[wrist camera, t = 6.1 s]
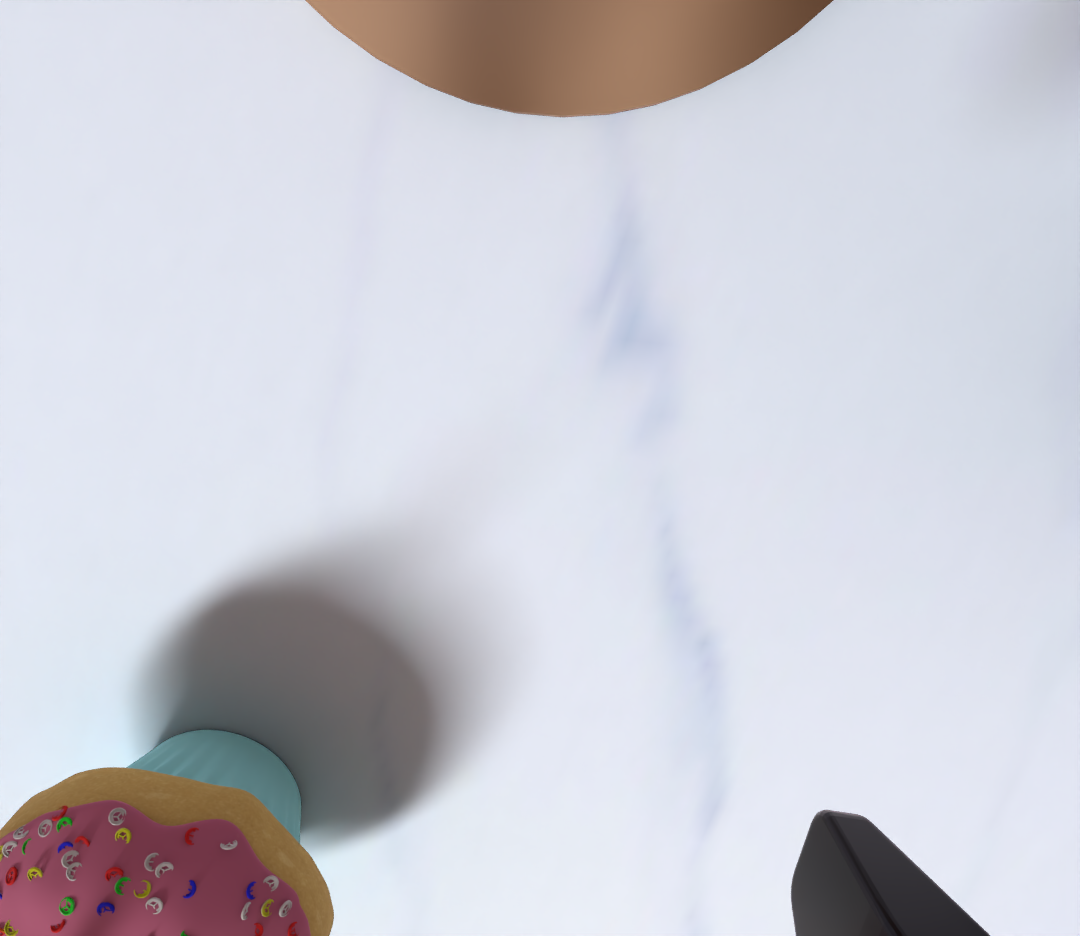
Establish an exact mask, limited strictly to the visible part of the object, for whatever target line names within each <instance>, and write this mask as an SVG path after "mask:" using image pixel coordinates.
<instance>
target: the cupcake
mask: <svg viewBox="0 0 1080 936" xmlns="http://www.w3.org/2000/svg"><path fill="white" fill-rule="evenodd" d="M300 823H301V797H300V793H299V789H298V786H297V783H296V781H295V779H294V777H293V775H292V774H291V772H290V771H289V769H288V768H287V767H286V765H285V764H284V763H283V762H282V761H281V760H280V759H279V758H278V757H277V756H276V755H275V754H274V753H273V752H271V751H270V750H269V749H267V748H266V747H264V746H263V745H261V744H259V743H257V742H256V741H254V740H251V739H249V738H247V737H244V736H241V735H239V734H235V733H231V732H226V731H220V730H196V731H190V732H186V733H182V734H179V735H176V736H174V737H172V738H169V739H168V740H166V741H164V742H162V743H161V744H159V745H158V746H157V747H156V748H154V749H153V750H151V751H150V752H149V753H147V754H146V755H144V756H143V757H141V758H140V759H139V760H137V761H136V762H134V763H133V764H131V765H130V766H128V767H126V768H99V769H93V770H88V771H84V772H80V773H77V774H75V775H73V776H71V777H69V778H67V779H65V780H63V781H62V782H60V783H58V784H56V785H55V786H53V787H51V788H49V789H47V790H44V791H42V792H40V793H38V794H36V795H35V796H33V797H32V798H30V799H29V800H28V801H27V802H26V803H25V804H24V805H23V806H22V807H21V808H20V809H19V810H18V811H17V812H16V813H15V814H14V815H13V816H12V818H11V819H10V820H9V821H8V822H7V823H6V824H5V826H4V827H3V828H2V829H1V830H0V936H329V935H330V932H331V928H332V925H333V919H334V912H333V906H332V902H331V898H330V893H329V890H328V887H327V884H326V882H325V880H324V878H323V877H322V875H321V873H320V871H319V869H318V868H317V866H316V864H315V863H314V861H313V859H312V857H311V856H310V855H309V853H308V852H307V851H306V850H305V849H304V848H303V847H302V846H301V845H300Z"/></svg>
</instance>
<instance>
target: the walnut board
mask: <svg viewBox="0 0 1080 936" xmlns="http://www.w3.org/2000/svg"><path fill="white" fill-rule="evenodd" d="M306 1H307V2H308V3H309V4H310V5H311V6H312V7H313V8H314V9H315V10H316V11H317V12H318V13H319V14H320V15H321V16H323V17H324V18H325V19H326V20H327V21H328V22H329V23H330V24H331V25H332V26H333V27H334V28H336V29H337V30H338V31H340V32H341V33H342V34H344V35H345V36H346V37H348V38H349V39H351V40H352V41H353V42H355V43H356V44H357V45H359V46H360V47H362V48H363V49H364V50H366V51H367V52H368V53H370V54H371V55H372V56H374V57H375V58H377V59H378V60H380V61H382V62H384V63H386V64H388V65H389V66H391V67H393V68H395V69H397V70H398V71H400V72H402V73H404V74H406V75H408V76H409V77H411V78H413V79H415V80H417V81H419V82H420V83H422V84H424V85H426V86H428V87H431V88H434V89H436V90H439V91H441V92H444V93H447V94H449V95H452V96H454V97H457V98H460V99H462V100H465V101H467V102H470V103H474V104H478V105H482V106H487V107H491V108H495V109H500V110H504V111H508V112H513V113H518V114H530V115H542V116H554V117H574V116H592V115H609V114H613V113H618V112H623V111H628V110H633V109H638V108H643V107H648V106H653V105H657V104H659V103H662V102H665V101H668V100H671V99H674V98H677V97H680V96H682V95H685V94H688V93H691V92H694V91H697V90H700V89H702V88H704V87H706V86H708V85H710V84H711V83H713V82H715V81H717V80H719V79H721V78H723V77H725V76H727V75H729V74H731V73H733V72H735V71H737V70H739V69H741V68H743V67H745V66H747V65H749V64H750V63H752V62H754V61H755V60H757V59H758V58H759V57H761V56H762V55H764V54H765V53H767V52H768V51H770V50H771V49H773V48H774V47H776V46H777V45H779V44H780V43H782V42H783V41H785V40H786V39H788V38H789V37H790V36H792V35H793V34H795V33H796V32H798V31H799V30H800V29H801V28H802V27H803V26H804V25H806V24H807V23H808V22H809V21H810V20H811V19H813V18H814V17H815V16H816V15H817V14H818V13H819V12H821V11H822V10H823V9H824V8H825V7H826V6H827V5H829V4H830V3H831V2H832V1H833V0H306Z"/></svg>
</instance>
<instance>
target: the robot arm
mask: <svg viewBox="0 0 1080 936" xmlns="http://www.w3.org/2000/svg"><path fill="white" fill-rule="evenodd" d="M791 902H792V910H793V917H794V925H795V932H796V936H990V935H989V934H988V933H987V932H986V931H985V930H984V929H983V928H982V927H981V926H980V925H979V924H978V923H977V922H976V921H974V920H973V919H972V918H971V917H970V916H969V915H968V914H967V913H966V912H965V911H964V910H963V909H962V908H961V907H960V906H959V905H958V904H957V903H956V902H955V901H953V900H952V899H951V898H950V897H949V896H948V895H947V894H946V893H945V892H944V891H943V890H942V889H941V888H940V887H939V886H938V885H937V884H936V883H935V882H934V881H933V880H931V879H930V878H929V877H928V876H927V875H926V874H925V873H924V872H923V871H922V870H921V869H920V868H919V867H918V866H917V865H916V864H915V863H914V862H913V861H912V860H910V859H909V858H908V857H907V856H906V855H905V854H904V853H903V852H902V851H901V850H900V849H899V848H898V847H897V846H896V845H895V844H894V843H893V842H892V841H891V840H890V839H888V838H887V837H886V836H885V835H884V834H883V833H882V832H881V831H880V830H879V829H878V828H877V827H876V826H875V825H874V824H873V823H872V822H870V821H869V820H868V819H867V818H865V817H863V816H861V815H857V814H851V813H845V812H838V811H831V810H823V811H820V812H818V813H817V814H816V815H815V817H814V819H813V821H812V823H811V825H810V828H809V831H808V834H807V837H806V840H805V843H804V845H803V848H802V851H801V854H800V857H799V860H798V863H797V865H796V868H795V871H794V875H793V879H792V886H791Z"/></svg>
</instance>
